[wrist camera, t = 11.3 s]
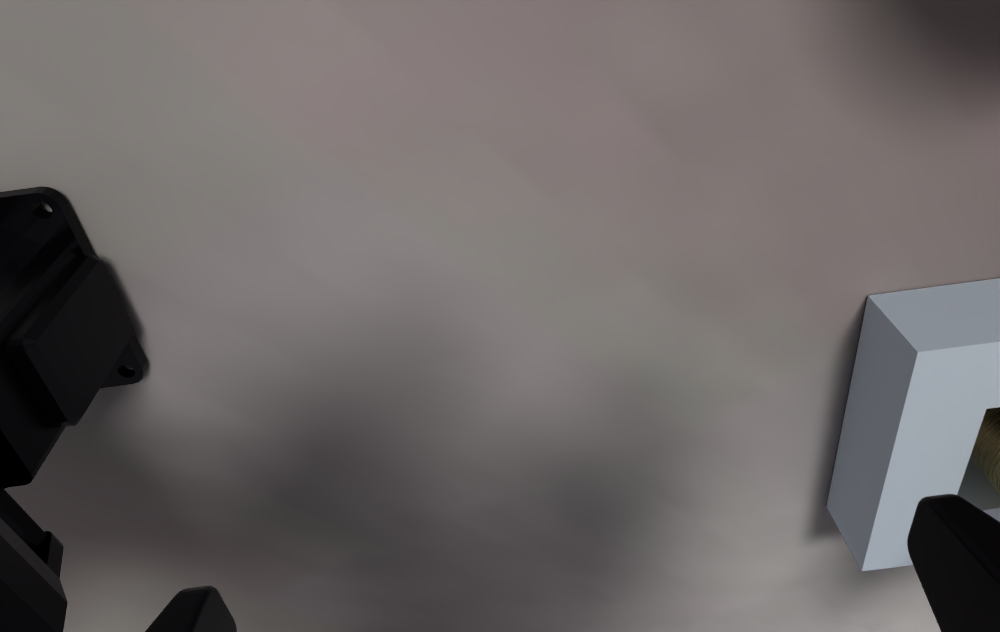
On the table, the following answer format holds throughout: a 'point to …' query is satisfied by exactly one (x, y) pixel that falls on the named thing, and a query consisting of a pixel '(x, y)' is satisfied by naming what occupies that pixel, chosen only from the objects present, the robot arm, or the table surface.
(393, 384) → the table surface
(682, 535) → the table surface
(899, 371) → the socket block
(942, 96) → the table surface
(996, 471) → the pin
